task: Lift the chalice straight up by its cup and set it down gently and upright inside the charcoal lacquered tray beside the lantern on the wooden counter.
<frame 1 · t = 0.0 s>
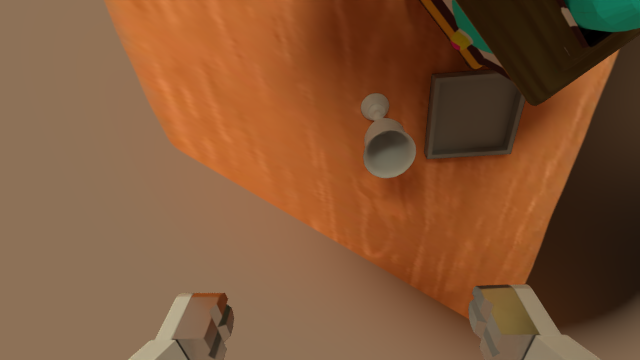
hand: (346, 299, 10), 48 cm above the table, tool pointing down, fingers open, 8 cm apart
tray: (470, 113, 56), on the table
chalice: (374, 106, 56), on the table
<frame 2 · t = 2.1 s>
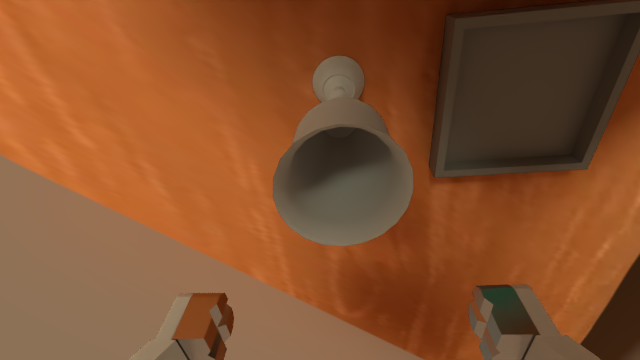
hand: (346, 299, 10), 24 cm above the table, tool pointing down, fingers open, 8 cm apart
tray: (516, 94, 30), on the table
chalice: (338, 82, 30), on the table
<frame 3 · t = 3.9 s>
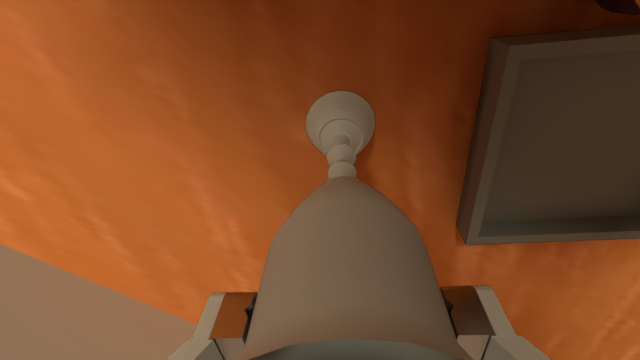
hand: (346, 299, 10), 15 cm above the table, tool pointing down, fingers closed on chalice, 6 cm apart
tray: (577, 140, 22), on the table
chalice: (340, 124, 23), on the table, touching gripper
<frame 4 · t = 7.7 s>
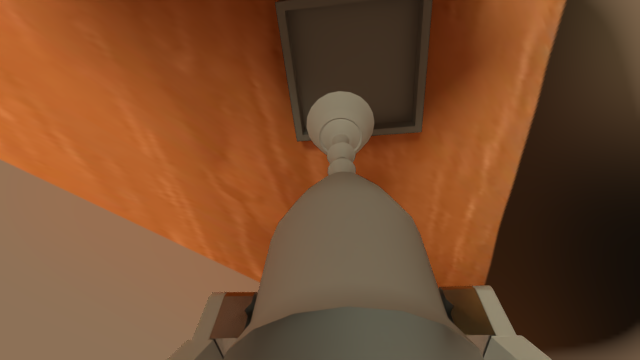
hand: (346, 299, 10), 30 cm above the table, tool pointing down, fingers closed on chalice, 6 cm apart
tray: (354, 67, 36), on the table
chalice: (340, 124, 23), point 15 cm above the table, touching gripper
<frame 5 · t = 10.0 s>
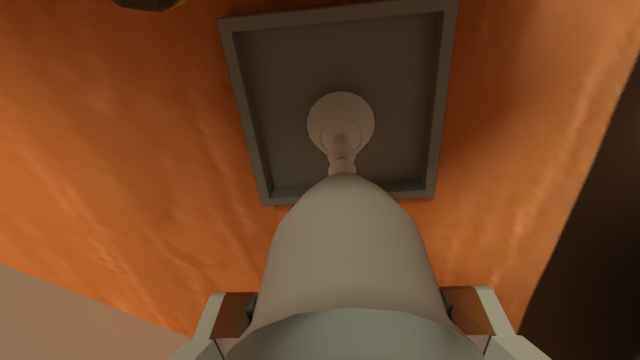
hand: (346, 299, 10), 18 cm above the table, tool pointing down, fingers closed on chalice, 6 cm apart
tray: (340, 109, 25), on the table
chalice: (340, 124, 23), point 2 cm above the table, touching gripper
when the fingers open (16 cm above the table, at t = 11.8 s): chalice stays where it is, resting on tray.
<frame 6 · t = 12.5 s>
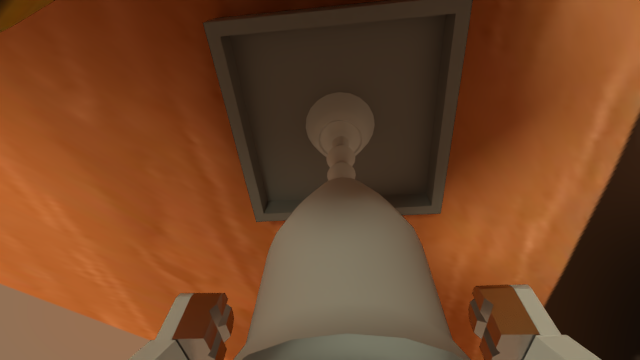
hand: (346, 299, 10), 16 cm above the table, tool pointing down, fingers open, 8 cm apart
tray: (340, 119, 23), on the table
chalice: (339, 125, 23), point 1 cm above the table, touching tray
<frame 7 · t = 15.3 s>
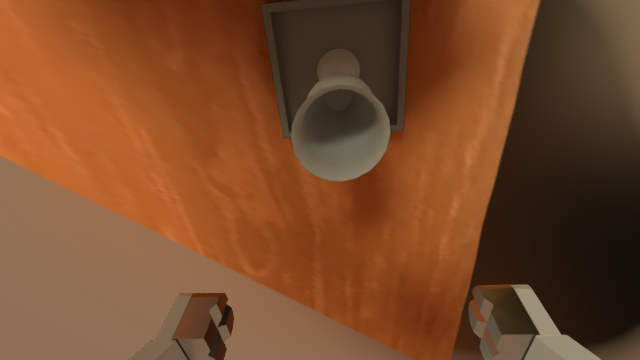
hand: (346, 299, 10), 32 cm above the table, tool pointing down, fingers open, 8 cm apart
tray: (338, 68, 37), on the table
chalice: (338, 71, 37), point 1 cm above the table, touching tray
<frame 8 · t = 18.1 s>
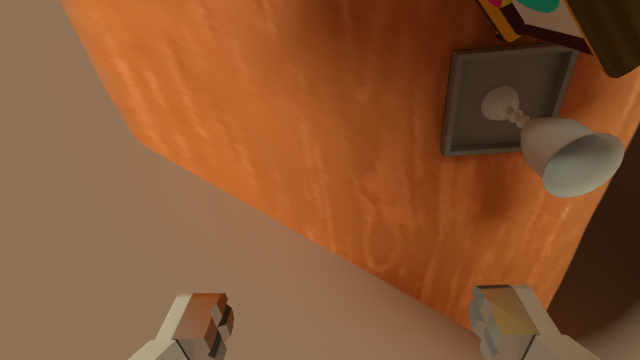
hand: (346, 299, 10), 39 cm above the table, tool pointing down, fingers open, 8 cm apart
tray: (497, 100, 46), on the table
chalice: (498, 103, 45), point 1 cm above the table, touching tray
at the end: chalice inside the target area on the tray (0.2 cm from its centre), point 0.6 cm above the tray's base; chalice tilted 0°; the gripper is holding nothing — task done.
